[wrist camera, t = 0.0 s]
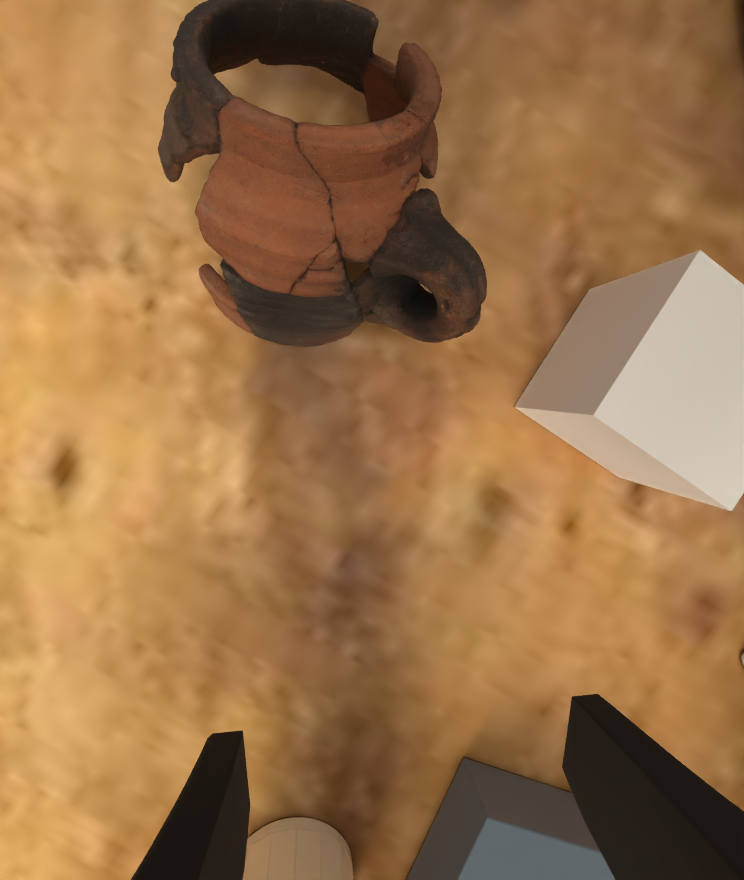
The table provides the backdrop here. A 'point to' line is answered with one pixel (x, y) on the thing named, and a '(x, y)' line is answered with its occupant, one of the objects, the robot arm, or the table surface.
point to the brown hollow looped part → (318, 180)
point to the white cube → (653, 380)
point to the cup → (297, 852)
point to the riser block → (507, 832)
